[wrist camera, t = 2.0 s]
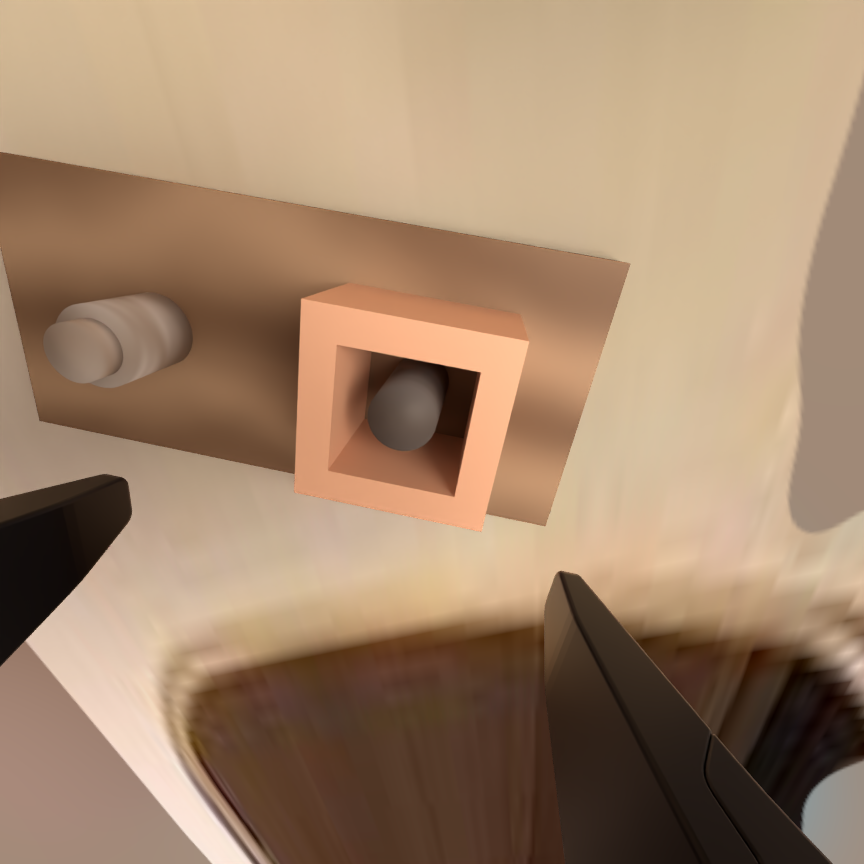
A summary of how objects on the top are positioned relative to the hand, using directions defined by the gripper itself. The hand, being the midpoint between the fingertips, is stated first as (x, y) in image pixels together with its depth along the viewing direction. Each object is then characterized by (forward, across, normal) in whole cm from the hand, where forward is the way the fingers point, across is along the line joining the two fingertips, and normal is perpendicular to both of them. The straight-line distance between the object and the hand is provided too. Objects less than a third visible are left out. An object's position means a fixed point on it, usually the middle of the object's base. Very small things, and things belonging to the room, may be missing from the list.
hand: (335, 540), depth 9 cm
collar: (+11, 0, 0) cm, 11 cm away
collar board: (+13, +6, 0) cm, 14 cm away
